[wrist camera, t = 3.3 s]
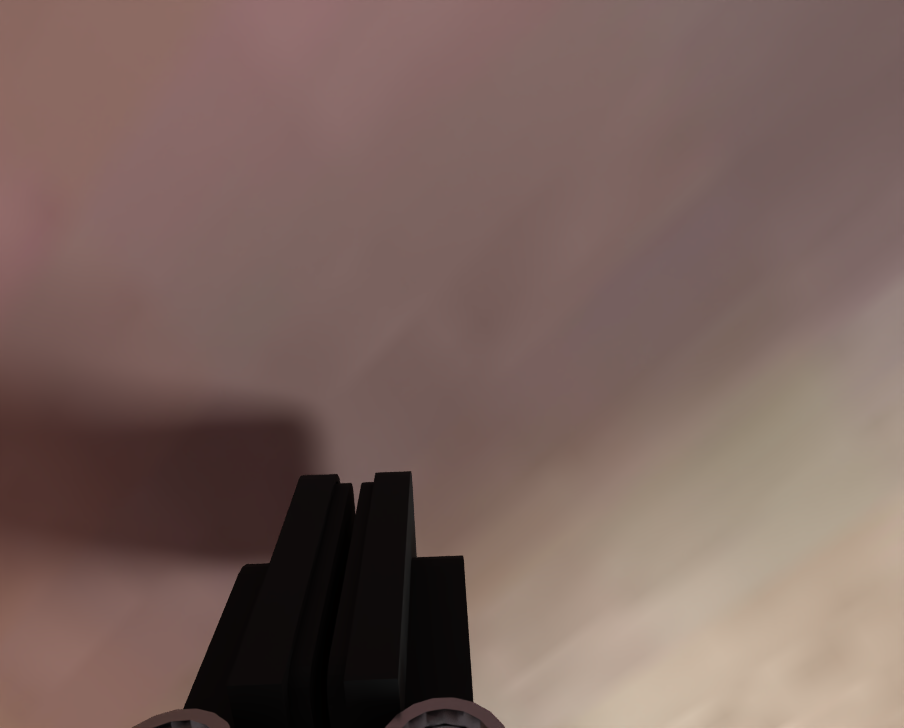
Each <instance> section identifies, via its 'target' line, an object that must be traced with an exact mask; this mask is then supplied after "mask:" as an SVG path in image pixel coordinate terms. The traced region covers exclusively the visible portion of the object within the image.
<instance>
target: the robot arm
mask: <svg viewBox="0 0 904 728" xmlns="http://www.w3.org/2000/svg"><path fill="white" fill-rule="evenodd" d="M132 728H505V727H504V725H503V724H502V723H501V722H500V721H499V720H498V719H497V718H496V717H495V716H494V715H493V714H492V713H491V712H490V711H488V710H487V709H485V708H483V707H481V706H479V705H478V704H476V703H474V702H473V689H472V675H471V660H470V645H469V630H468V616H467V601H466V586H465V571H464V558H463V556H439V557H417V556H416V538H415V521H414V504H413V486H412V474H411V471H406V472H380V473H375V478H374V482H365V483H362V484H361V489H360V494H359V499H358V505H357V510H356V514H355V504H354V493H353V486H352V484H351V483H340V479H339V476H338V474H329V475H303V476H301V477H300V479H299V481H298V484H297V487H296V490H295V493H294V495H293V498H292V501H291V504H290V507H289V510H288V512H287V515H286V518H285V521H284V524H283V527H282V530H281V532H280V535H279V538H278V541H277V544H276V547H275V549H274V552H273V555H272V558H271V561H270V563H266V564H246V565H245V566H243V567H242V569H241V571H240V572H239V574H238V576H237V579H236V581H235V584H234V586H233V589H232V591H231V594H230V596H229V598H228V601H227V603H226V606H225V608H224V611H223V613H222V616H221V618H220V620H219V623H218V625H217V628H216V630H215V633H214V635H213V638H212V640H211V642H210V645H209V647H208V650H207V652H206V655H205V657H204V660H203V662H202V664H201V667H200V669H199V672H198V674H197V677H196V679H195V682H194V684H193V686H192V689H191V691H190V694H189V696H188V699H187V701H186V704H185V706H184V708H183V709H177V710H173V711H169V712H166V713H162V714H159V715H156V716H153V717H151V718H149V719H147V720H145V721H143V722H141V723H140V724H138V725H136V726H134V727H132Z"/></svg>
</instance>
